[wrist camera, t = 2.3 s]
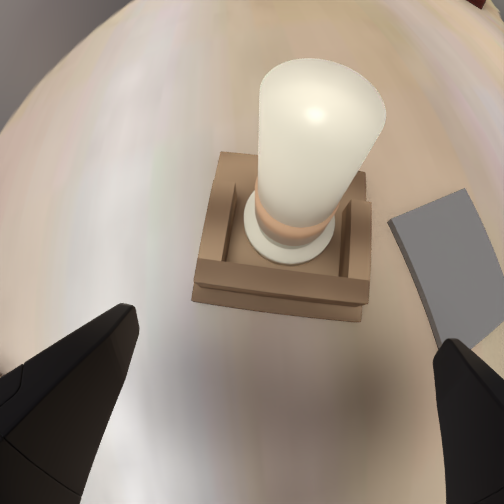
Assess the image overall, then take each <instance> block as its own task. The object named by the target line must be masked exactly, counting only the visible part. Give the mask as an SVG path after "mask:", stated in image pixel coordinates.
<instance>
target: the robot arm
mask: <svg viewBox="0 0 504 504" xmlns="http://www.w3.org/2000/svg"><path fill="white" fill-rule="evenodd" d="M138 335H139V323H138V318H137V313H136V309H135V307H134V306H133V305H129V304H124V303H120V304H118V305H116V306H114V307H113V308H111V309H110V310H108V311H106V312H105V313H103V314H101V315H100V316H98V317H96V318H95V319H93V320H92V321H90V322H88V323H87V324H85V325H83V326H82V327H80V328H79V329H77V330H75V331H74V332H72V333H70V334H69V335H67V336H66V337H64V338H62V339H61V340H59V341H58V342H56V343H54V344H53V345H51V346H50V347H48V348H47V349H45V350H43V351H42V352H40V353H39V354H37V355H35V356H34V357H32V358H31V359H29V360H28V361H26V362H25V363H24V364H21V365H20V366H18V367H17V368H15V369H14V370H12V371H10V372H9V373H7V374H5V375H4V376H2V377H1V378H0V504H80V501H81V496H82V494H83V491H84V488H85V485H86V482H87V479H88V476H89V473H90V470H91V467H92V464H93V462H94V459H95V456H96V453H97V450H98V448H99V445H100V442H101V440H102V437H103V434H104V432H105V429H106V426H107V424H108V421H109V419H110V416H111V414H112V411H113V409H114V406H115V404H116V401H117V399H118V396H119V394H120V391H121V389H122V386H123V384H124V381H125V378H126V375H127V372H128V369H129V365H130V362H131V358H132V355H133V352H134V348H135V345H136V342H137V339H138ZM433 369H434V379H435V389H436V401H437V410H438V416H439V423H440V430H441V437H442V446H443V455H444V466H445V481H446V504H504V379H503V378H502V377H500V376H499V375H498V374H497V373H496V372H495V371H494V370H493V369H492V368H491V367H490V366H488V365H487V364H486V363H485V362H484V361H483V360H482V359H481V358H480V357H478V356H477V355H476V354H475V353H474V352H473V351H472V350H471V349H469V348H468V347H467V346H466V345H465V344H464V343H463V342H461V341H460V340H459V339H457V338H447V339H446V340H445V341H444V342H443V344H442V345H441V347H440V348H439V350H438V351H437V353H436V355H435V356H434V359H433Z"/></svg>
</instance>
